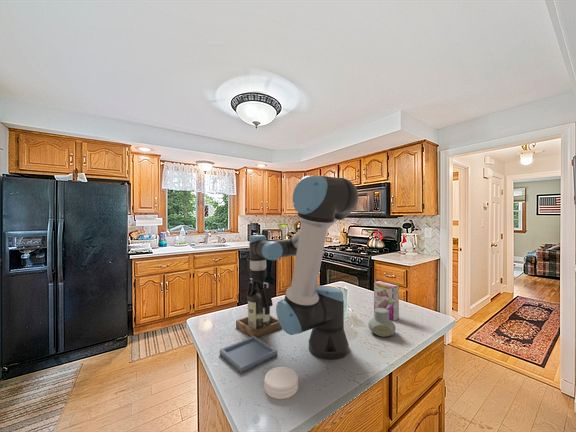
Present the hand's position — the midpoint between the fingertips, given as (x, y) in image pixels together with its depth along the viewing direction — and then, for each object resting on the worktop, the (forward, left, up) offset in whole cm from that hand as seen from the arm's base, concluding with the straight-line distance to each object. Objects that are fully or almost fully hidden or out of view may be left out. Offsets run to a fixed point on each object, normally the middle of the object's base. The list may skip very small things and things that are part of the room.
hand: (259, 317), depth 113 cm
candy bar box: (-34, -53, -5) cm, 63 cm away
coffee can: (0, 0, -5) cm, 5 cm away
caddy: (0, 0, -4) cm, 4 cm away
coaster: (-37, +18, -5) cm, 41 cm away
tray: (-16, +16, -4) cm, 23 cm away
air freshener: (-41, -35, -5) cm, 54 cm away
